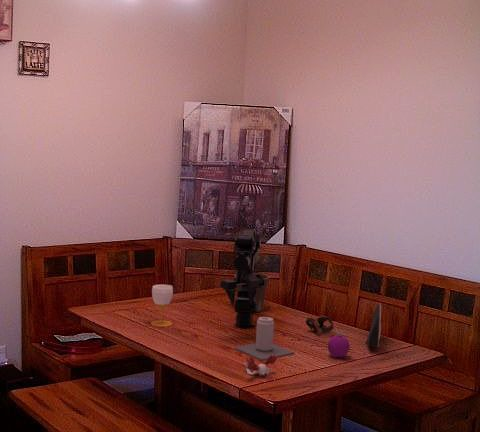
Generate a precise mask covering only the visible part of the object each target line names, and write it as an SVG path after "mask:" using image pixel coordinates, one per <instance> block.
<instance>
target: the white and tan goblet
mask: <svg viewBox="0 0 480 432" xmlns="http://www.w3.org/2000/svg"><path fill="white" fill-rule="evenodd" d="M173 295H174V288H173V285H171V284H163V283H162V284H154V285H152V288H151V296H152V300H153V302H154V304H155V305H156V306H157V307H159V308H160V320H159V319H158V320H153V321H151V322H150V325H151V326H154V327H158V328H159V327H162V328H164V327H165V328H166V327H170V326H172V325H173V322H171V321H168V320H165V319H164V317H163V316H164V314H163V313H164V308H165V307H167V306H169V304H171V302H172V298H173ZM163 319H164V320H163Z"/></svg>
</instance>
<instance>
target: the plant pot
mask: <svg viewBox="0 0 480 432" xmlns="http://www.w3.org/2000/svg"><path fill="white" fill-rule="evenodd" d="M253 274H254V275H257V274H259V273H255V272H253ZM261 274H262V275H263V279H264V281H265V285H264V286H262V288H260V289H258V290H257V292H256V294H255V296H254V299H255V301H256V303H257V313H261V312H263V311H264V305H265V299H266V293H267V292H266V290H267V286H268V283H269V279H270V276H269V275H267V274H264V273H261ZM235 277H236V273H235V274H234V278H235ZM241 288H242V285H241V286H237V287H236V290H237V291H236V294H237V293H238V291H239V290H240V289H241ZM252 310H253V309H252Z"/></svg>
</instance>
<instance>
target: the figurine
mask: <svg viewBox="0 0 480 432" xmlns="http://www.w3.org/2000/svg"><path fill="white" fill-rule="evenodd" d="M270 354H271V353H270ZM245 359H246V362H244V363H243V366H244V367H245V369H246V373H247V374H248V375H251V376H254V375H256V374H258V373H259V376H260V377H262V376H265V374H266V375H269V373H270V371H272V370H273V368H272V367H270V368H267V366H268V365H269V364H270V365H274V364H275V362H276V361H277V360H278V357H277V358H276V355H274V356H273V355H272V354H271V355H270V357H269V359H268V360H265V361H264V362H262V363H258V364H256V363H255V360H254V359H255V358H254V357H253V356H249V359H248V358H247V357H246V358H245Z"/></svg>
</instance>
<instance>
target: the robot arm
mask: <svg viewBox="0 0 480 432" xmlns="http://www.w3.org/2000/svg"><path fill="white" fill-rule="evenodd" d="M261 243H262V240H261V236H260V234H258V233H257V229H255V228H244V229H243V232H242V234H241V233H240V234H237V235H236V236H235V238H234V245H233V253H234V254H235V253H236V257H235V258H234V260H233V266H234V269H233V270H234V271H236V272H235V274H236V277H235V276H234V278H233V280H231V279H223V280H221V282H220V287H219V288H222V290H224V291H225V293H226V295H227V297H228V300H229V301H230V304H231V306H234V313H236V316H235V318H236V319H235V323H234V326H236V327H238V328H241V329H248V328H255V327H256V326H255V325H254V324H253V323H254V322H253V321H254V314H256V313H258V312H257V303H256V301H255V299H254V296H255V294H256V292H257V290H258V289H260V288H262V286H264V285H265V281H264V279H263V275H262V274H263V273H258V274H257V275H254V274H253V273H254V266H255V265H254V264H255V259H256V257H257V256H258V255H259V252H260V251H259V250H261V246H262V245H261ZM241 285H242V288H241V289H240V290H239V291H238V293H237V286H241ZM235 297H236V298H235ZM252 309H253V310H252Z"/></svg>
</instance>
